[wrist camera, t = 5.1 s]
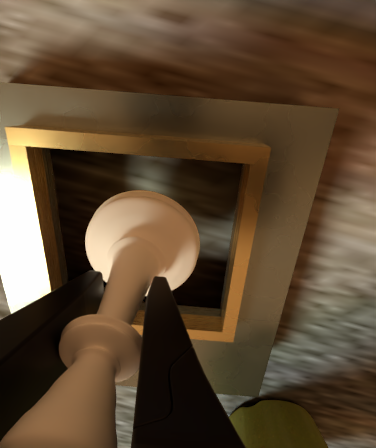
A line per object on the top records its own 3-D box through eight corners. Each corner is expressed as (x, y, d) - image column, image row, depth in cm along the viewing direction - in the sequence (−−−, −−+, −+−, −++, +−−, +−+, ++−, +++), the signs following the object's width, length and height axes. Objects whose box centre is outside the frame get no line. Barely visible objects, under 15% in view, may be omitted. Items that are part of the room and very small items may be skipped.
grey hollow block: (307, 108, 12) (365, 108, 8) (249, 354, 19) (264, 426, 14) (5, 84, 12) (-98, 72, 8) (53, 338, 19) (10, 404, 14)
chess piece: (76, 193, 11) (-579, 662, 2) (195, 185, 10) (182, 707, 1) (102, 290, 13) (-137, 745, 4) (202, 286, 12) (215, 770, 3)
